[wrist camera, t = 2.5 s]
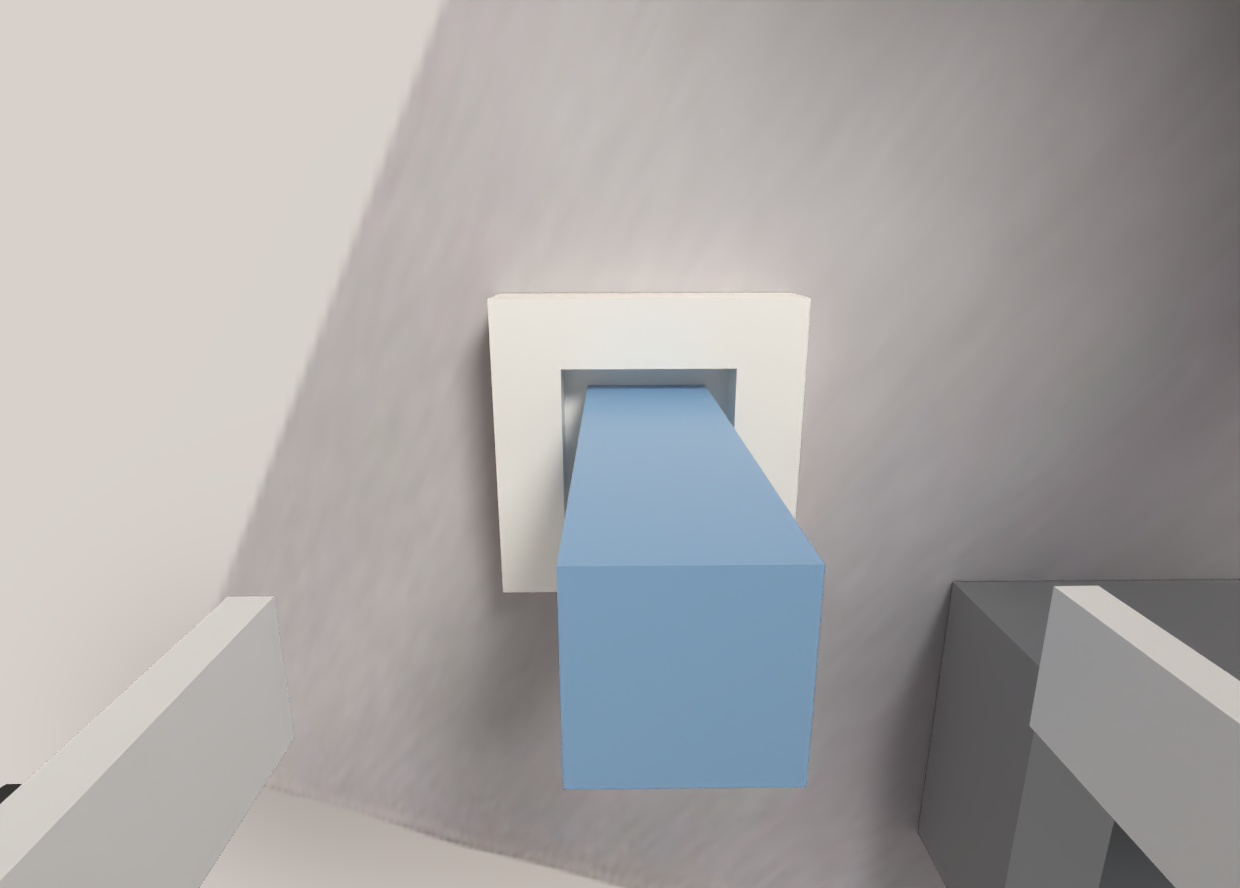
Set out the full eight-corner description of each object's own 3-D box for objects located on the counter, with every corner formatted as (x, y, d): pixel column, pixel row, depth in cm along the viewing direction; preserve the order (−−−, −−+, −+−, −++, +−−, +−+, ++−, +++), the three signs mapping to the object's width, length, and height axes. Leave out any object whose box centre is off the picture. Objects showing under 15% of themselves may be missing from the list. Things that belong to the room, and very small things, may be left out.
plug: (588, 385, 24) (555, 566, 10) (704, 384, 24) (825, 564, 10) (589, 495, 25) (562, 789, 11) (701, 494, 25) (805, 786, 12)
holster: (499, 293, 24) (487, 299, 22) (791, 292, 24) (810, 297, 22) (512, 561, 27) (503, 592, 24) (774, 559, 27) (790, 590, 24)
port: (953, 581, 27) (1054, 682, 21) (1259, 579, 27) (1452, 678, 21) (917, 832, 30) (997, 984, 24) (1191, 829, 31) (1340, 979, 24)
